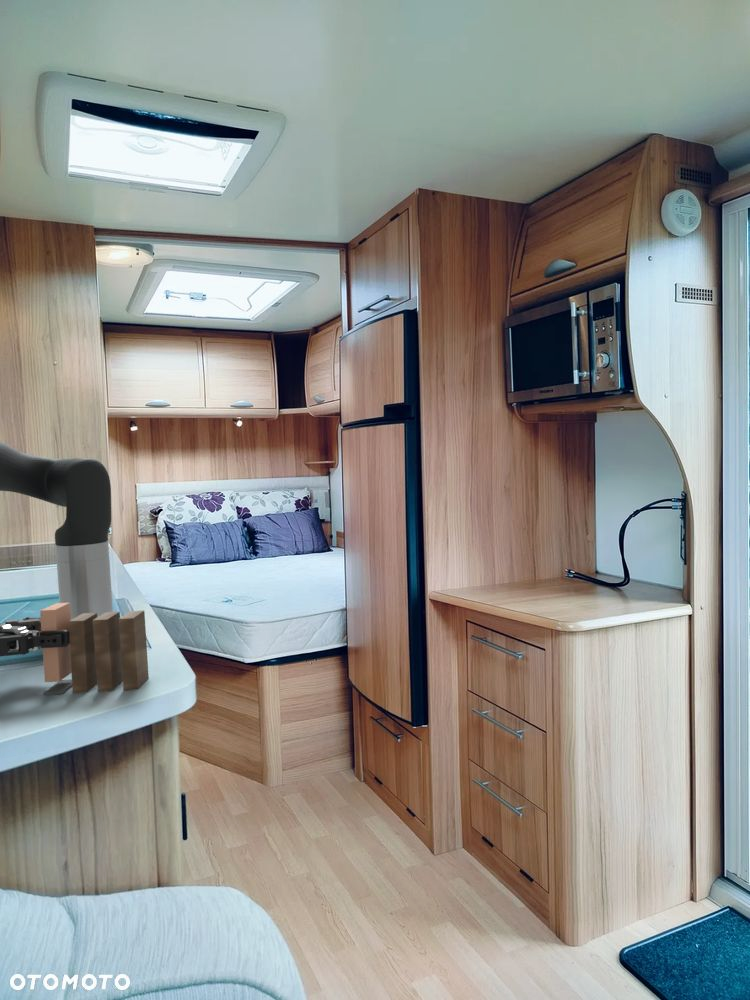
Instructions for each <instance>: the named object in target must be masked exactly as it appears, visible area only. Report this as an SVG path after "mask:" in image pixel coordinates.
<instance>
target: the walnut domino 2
mask: <svg viewBox="0 0 750 1000" xmlns="http://www.w3.org/2000/svg"><path fill="white" fill-rule="evenodd" d="M120 613H121V612H120V611H113V612H106V613H104V614H102V615H101V616H99V617H97V618H96V619H94V620H93V631H94V645H95V658H96V672H97V684H96V686H97V692H110V691H111V692H112V691H114V690H115V689H116V688H117V687H118V686H119V685H120V684H121V683H123V675H122V660H121V645H120V629H119V618H121V614H120Z"/></svg>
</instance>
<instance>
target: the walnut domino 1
mask: <svg viewBox="0 0 750 1000" xmlns="http://www.w3.org/2000/svg"><path fill="white" fill-rule="evenodd" d="M96 618H97V613H83V614H81V615H79V616H77V617H76V618H74V619H72V620H70V621H69V631H70V651H71V672H72V673H71V679H72V687H71V689H72V691H71V692H72V693H89V691H90V690H91V689H93V688H94V687H95V686H97V672H96V658H95V645H94V631H93V620H94V619H96Z"/></svg>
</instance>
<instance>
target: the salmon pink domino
mask: <svg viewBox="0 0 750 1000" xmlns="http://www.w3.org/2000/svg"><path fill="white" fill-rule="evenodd" d="M39 613H40V618H41V631H56V630H68V631H69V621H70V620H71V610H70V603H60V602H58V603H56V602H55V603H53V604H52V605H48V606H47V607H45V608H43V609H40V610H39ZM69 637H70V631H69ZM42 659H43V660H42V661H43V675H44V676H43V677H44V683H57V682H60V681H61V680H65V678H66V677H68V676H69V675H72V672H71V651H70V644H69V645H68V646H66V647H54V648H42Z"/></svg>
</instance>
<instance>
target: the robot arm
mask: <svg viewBox="0 0 750 1000" xmlns="http://www.w3.org/2000/svg"><path fill="white" fill-rule="evenodd" d="M111 486H112V485H111V480H110V475H109V472H108V470H107V468H106V466H105V465H104V464H103V463H102V462H101V461H99V460H97V459H95V458H92V457H91V458H89V457H76V458H51V457H43V456H39V455H34V454H28V453H25V452H21V451H19V450H16V449H15V448H13V447H11V446H9V445H8V444H6V443H5V442H3V441H1V440H0V491H1V492H10V493H16V494H20V495H25V496H28V497H31V498H33V499H38V500H40V501H44V502H47V503H50V504H53V505H56V506H59V507H62V508H65V509H66V510H65V512H66V513H65V520H64V522H63V524H62V525H61V526H60V527H58V528H57V529H56V530H55V532H54V542H55V543H54V545H55V556H56V557H55V559H56V570H57V571H56V572H57V584H58V587H57V588H58V600H59V603H70V610H71V620H72V619H74V618H76V617H77V616H79V615H81V614H83V613H97V617H99V616H101V615H102V614H104V613H106V612H114V610H113V609H114V606H113V593H112V592H113V591H112V578H111V563H110V562H111V561H110V551H109V550H110V548H109V531H110V528H111V524H112V489H111V488H112V487H111ZM4 622H5V623H0V657H9V656H18V655H19V656H20V655H22V656H25V655H28V654H29V653H30V651H33V652H35V651H38V650H40V649H43V648H54V647H66V646H68V645H69V644H70V637H69V631H68V630H56V631H41V617H28V616H27V617H25V618H22V620H19V619H10V620H6V621H4Z"/></svg>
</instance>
